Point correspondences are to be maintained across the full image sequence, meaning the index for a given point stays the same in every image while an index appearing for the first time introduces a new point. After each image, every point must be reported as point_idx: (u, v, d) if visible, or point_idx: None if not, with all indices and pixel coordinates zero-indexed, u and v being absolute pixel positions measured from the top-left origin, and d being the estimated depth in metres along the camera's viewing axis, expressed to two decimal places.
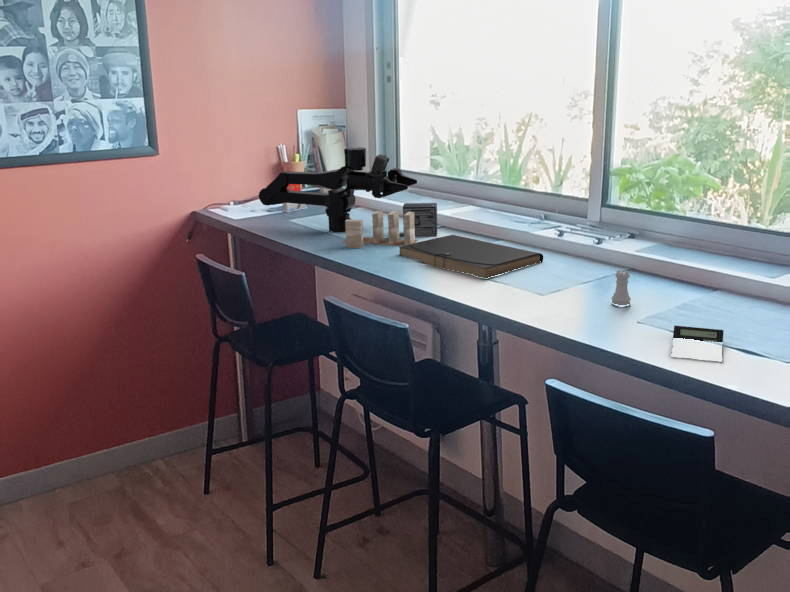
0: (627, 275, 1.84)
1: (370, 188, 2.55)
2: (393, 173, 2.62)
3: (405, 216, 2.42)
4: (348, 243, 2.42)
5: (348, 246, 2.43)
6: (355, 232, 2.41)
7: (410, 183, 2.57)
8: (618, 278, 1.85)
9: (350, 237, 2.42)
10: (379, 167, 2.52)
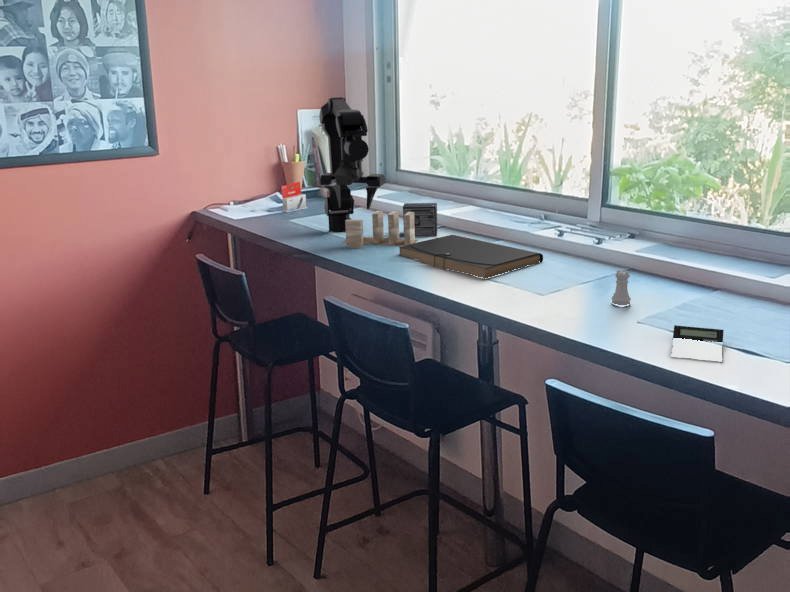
0: (627, 275, 1.84)
1: None
2: None
3: (405, 216, 2.42)
4: (348, 243, 2.42)
5: (348, 246, 2.43)
6: (355, 232, 2.41)
7: None
8: (618, 278, 1.85)
9: (350, 237, 2.42)
10: None
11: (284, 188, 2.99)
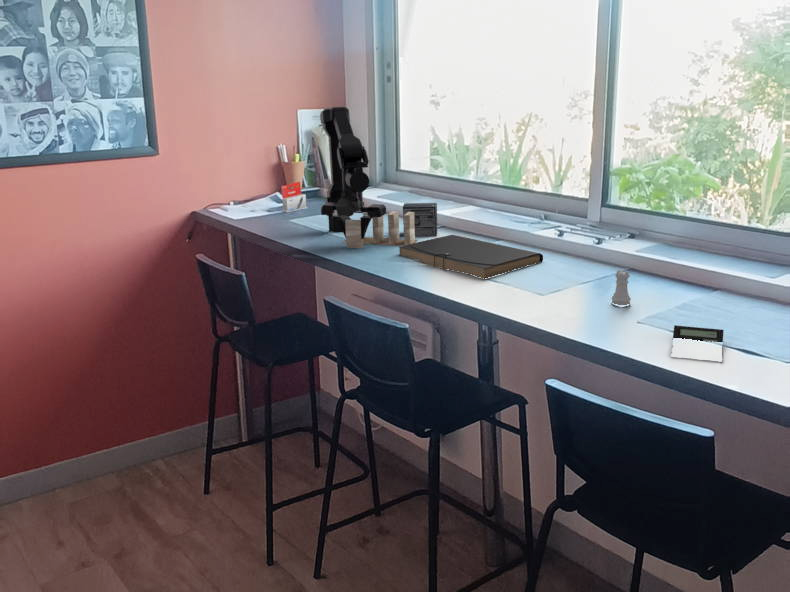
0: (627, 275, 1.84)
1: None
2: None
3: (405, 216, 2.42)
4: (348, 243, 2.42)
5: (348, 246, 2.43)
6: (355, 232, 2.41)
7: None
8: (618, 278, 1.85)
9: (350, 237, 2.42)
10: None
11: (284, 188, 2.99)
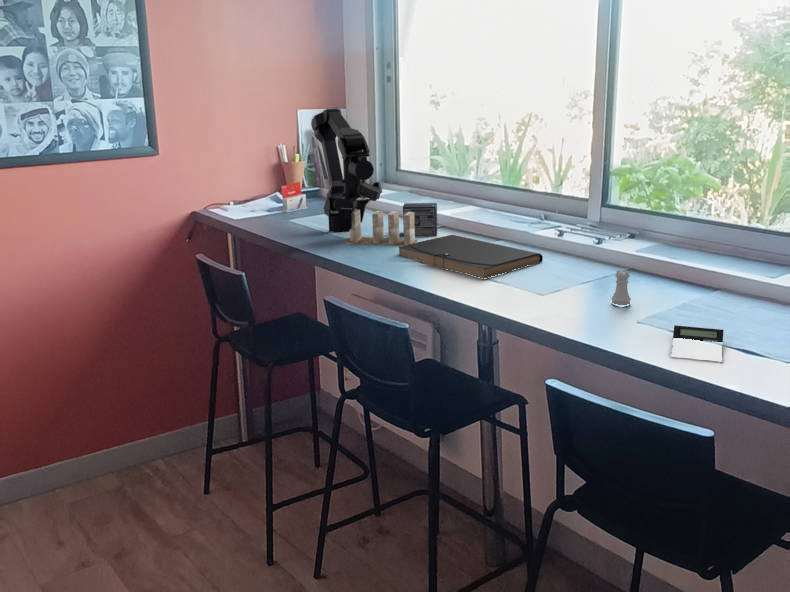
0: (627, 275, 1.84)
1: (345, 184, 2.45)
2: None
3: (405, 216, 2.42)
4: (356, 234, 2.49)
5: (356, 237, 2.50)
6: (358, 221, 2.50)
7: None
8: (618, 278, 1.85)
9: (357, 228, 2.49)
10: (366, 195, 2.44)
11: (284, 188, 2.99)
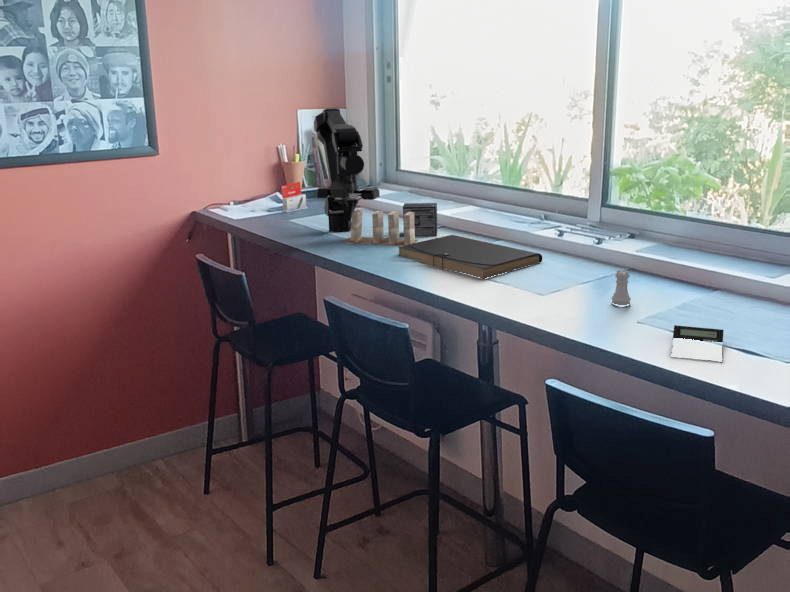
0: (627, 275, 1.84)
1: None
2: None
3: (405, 216, 2.42)
4: (357, 234, 2.49)
5: (356, 237, 2.50)
6: (360, 222, 2.50)
7: None
8: (618, 278, 1.85)
9: (358, 228, 2.49)
10: None
11: (284, 188, 2.99)
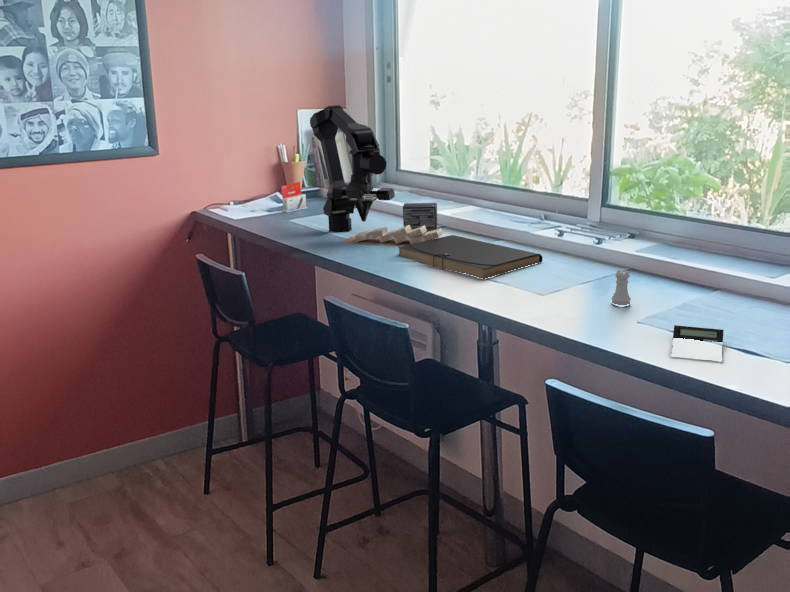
0: (627, 275, 1.84)
1: None
2: None
3: (436, 233, 2.40)
4: None
5: (360, 240, 2.49)
6: None
7: None
8: (618, 278, 1.85)
9: None
10: None
11: (284, 188, 2.99)
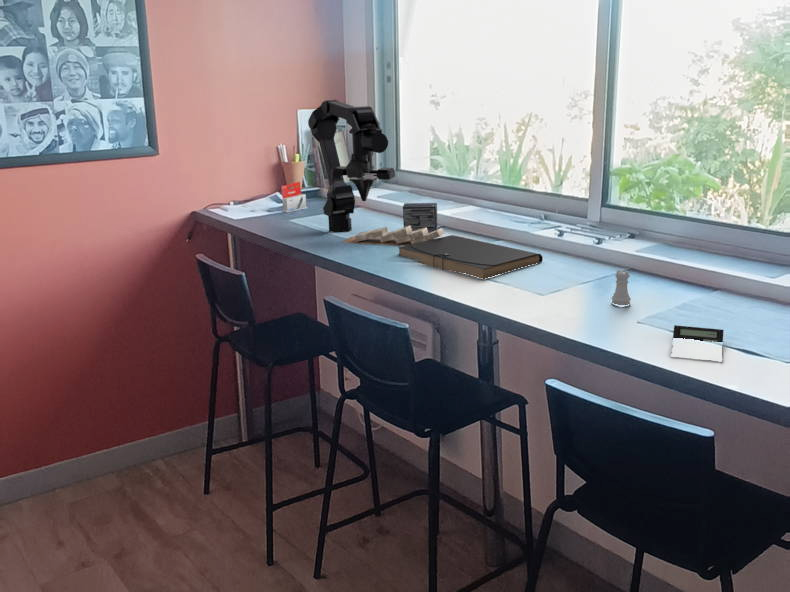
0: (627, 275, 1.84)
1: None
2: None
3: (436, 232, 2.40)
4: None
5: (360, 240, 2.49)
6: None
7: None
8: (618, 278, 1.85)
9: None
10: None
11: (284, 188, 2.99)
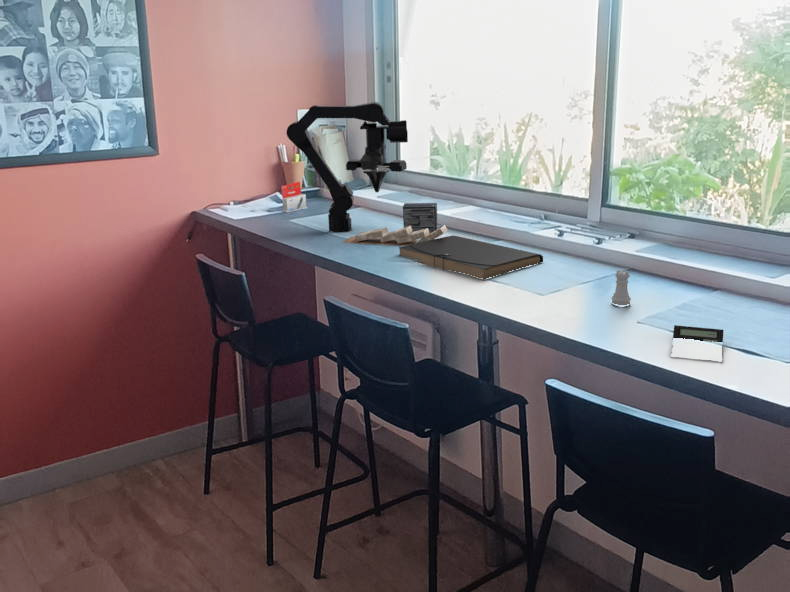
0: (627, 275, 1.84)
1: None
2: None
3: (440, 230, 2.39)
4: None
5: (360, 240, 2.49)
6: None
7: None
8: (618, 278, 1.85)
9: None
10: None
11: (284, 188, 2.99)
